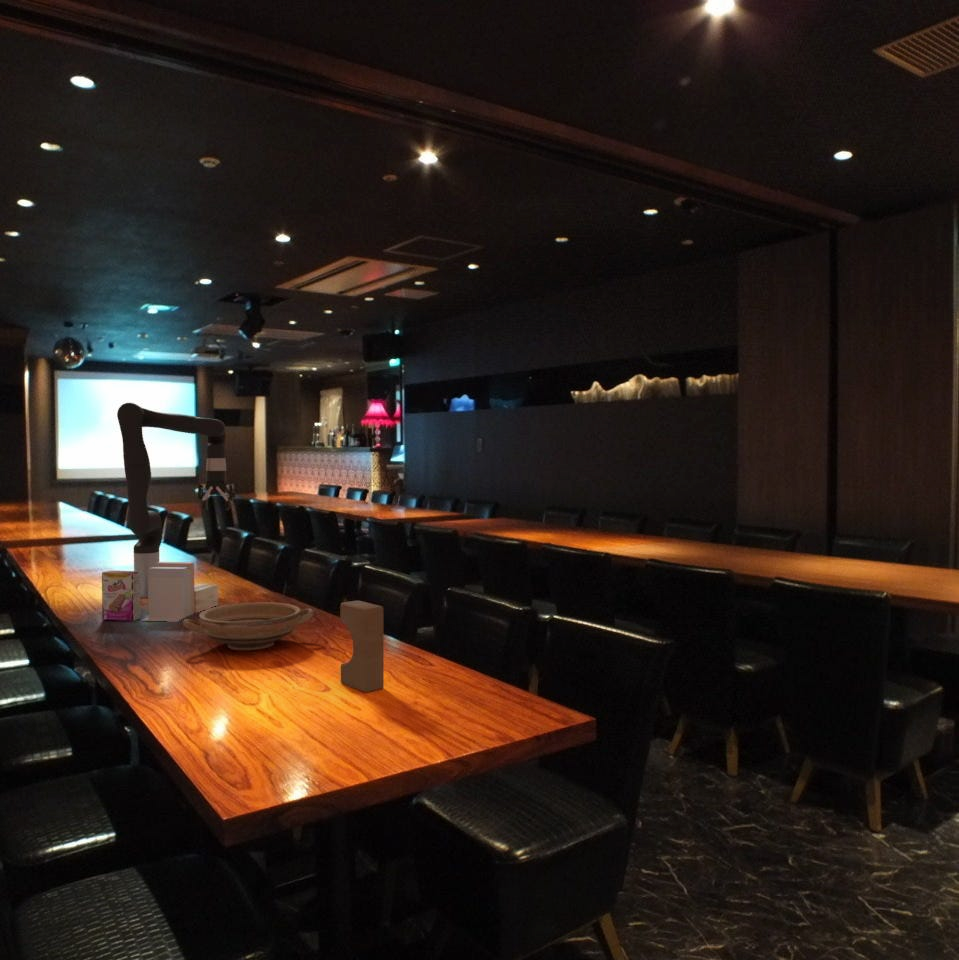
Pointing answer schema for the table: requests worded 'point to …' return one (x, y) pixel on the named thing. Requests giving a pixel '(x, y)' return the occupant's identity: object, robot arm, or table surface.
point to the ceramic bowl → (249, 623)
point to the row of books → (170, 591)
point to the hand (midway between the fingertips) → (216, 510)
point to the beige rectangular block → (205, 596)
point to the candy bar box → (121, 595)
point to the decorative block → (364, 646)
